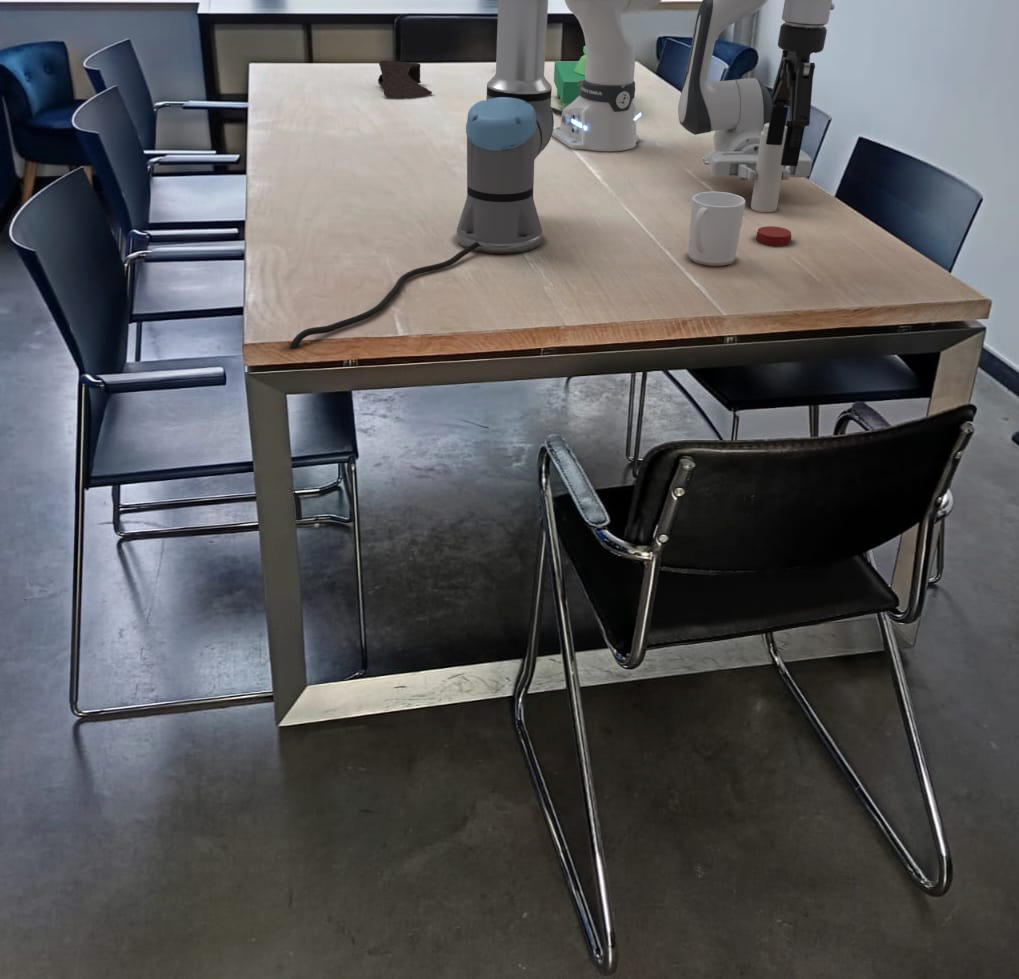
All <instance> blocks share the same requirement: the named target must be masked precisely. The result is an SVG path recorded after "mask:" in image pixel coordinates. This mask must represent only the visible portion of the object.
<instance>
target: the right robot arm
mask: <svg viewBox="0 0 1019 979" xmlns="http://www.w3.org/2000/svg"><path fill="white" fill-rule="evenodd" d="M662 1H663V0H564V2H565V5H566V7H567V8H568V10H569V11H570V12H571V13H572V14H573V15H574V16H575V18H576V19H577V20H578V23H579V25H580V27H581V30H582V32H583V37H584V43H585V46H586V69H585V79H584V80H583V81H578V82H583V83H582V84H579V85H578V86H581V90H580V93H579V95H580V96H579V97H577V98H576V99H575V100H574V101H573V102H572V103H571V104H569V105H568V106H567V107H566V108H564V110H563V111H562V109H558V108H555V107H553V106H551V108H552V112H553V113H556V114H557V115H560V116H561V118H560V126H559V127H554V128H553V133H552V136H551V137H554V138H555V139H556V140H558V141H559V142H561V143H562V144H564V145H565V146H567V147H569V149H574V150H588V151H597V152H619V151H627V150H631V149H634V148H635V147H637V143H638V142H639V141H640V135H639V134H637V120H638V119H639V118H640V117H642V112H639V113H638V114H637V105H636V104H635V103H634V101H633V100H634V99H635V94H636V81H635V67H636V53H637V48H636V44H635V42H634V40H633V39H632V38H630V37H629V36H628V35H627V34H625V32H624V29H623V24H622V15H632V14H641V13H642V12H645V11H647V10H650V9H652V8H655V7H657V6H659V4H660V3H661V2H662ZM767 2H769V0H702V1H701V3H700V6H699V8H698V11H697V15H696V20H695V24H694V29H693V34H692V40H691V44H690V49H689V55H688V60H687V65H686V72H685V76H684V81H683V85H682V89H681V92H680V96H679V100H678V106H677V116H678V121H679V124H680V125H681V126H682V128H684V129H685V130H686V131H688V132H689V133H690V134H692V135H694V136H696V135H702V134H706V133H711V132H714V134H713V142H712V143H713V147H714V150H715V151H711V152H710V153H709V155H707V156H703V157H702V159H701V161H702V163H703V164H705V165H707V171H708V174H709V175H710V177H712V178H714V179H740V180H743V181H748V182H749V181H754V180H757V174H758V172H757V170H756V166H757V158H758V151H759V144H760V136H761V132H762V131H763V129H764V124H766V123H769V122H770V116H771V110H772V106H773V105H772V99H771V94H770V92H769V90H768V88H767V86H765V83H763V82H762V81H761V80H760V79H758V78H757V77H749V78H748V77H747V78H737V79H729V80H720V81H719V80H717V81H709V74H710V69H711V64H712V58H713V53H714V48H715V44H716V41H717V39H718V38H719V36H720V35H721V33H723V32H724V30H727V28H729V27H730V26H732V25H734V24H735V23H737V22H740V21H741V20H743V19H746V18H748V17H749V16H751V15H753V14H755V13H756V12H757V11H759V10H760V9H762V8H763V7H764V6H765V5H766V4H767ZM812 164H813V160H812V158H811V156H810V155H809V154H808V153H806V152H805V151H804V150H803V149H802V148H801V149H800V155H799V160H798V165H797V166H783V171H782V178H781V181H789V180H790V179H791V178H795V179H797V178H803V179H804V178H808V177H810V174H811V170H812V166H813V165H812Z"/></svg>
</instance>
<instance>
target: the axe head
mask: <svg viewBox="0 0 1019 979" xmlns="http://www.w3.org/2000/svg"><path fill="white" fill-rule="evenodd" d="M378 66H379V68H380V72H381V74H379V75H378V79H377V84H378V85H379V86H380V87H381V88H382V89H383V95H384V96H385V97H388V98H394V99H395V98H396V99H403V98H405V99H406V98H407V99H411V98H418V97H425V96H429V95H432V94H433V91H431V90H430V89H428V88H427V87H425V86H422V85H421V84H422V82H421V63H419V62H410V61H408V62H407V61H397V60H388V59H387V60H380V61H379V62H378Z"/></svg>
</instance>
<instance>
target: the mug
mask: <svg viewBox="0 0 1019 979" xmlns="http://www.w3.org/2000/svg"><path fill="white" fill-rule="evenodd" d="M746 201H747V200H746V199H745V198H744V197H743V196H740V195H738V194H735V193H731V192H726V191H725V192H724V191H701V192H697V193H695V194H694V195H692V197H691V207H690V221H689V222H690V223H689V238H688V239H689V241H688V253H687V254H688V258H689V259H690V260H691V262H694V263H696V264H698V265H704V266H710V267H721V266H723V267H724V266H727V265H731V264H733V263H734V262H735V260H736V257H737V251H738V245H739V240H740V235H741V229H742V223H743V218H744V212H745V208H746Z"/></svg>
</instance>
